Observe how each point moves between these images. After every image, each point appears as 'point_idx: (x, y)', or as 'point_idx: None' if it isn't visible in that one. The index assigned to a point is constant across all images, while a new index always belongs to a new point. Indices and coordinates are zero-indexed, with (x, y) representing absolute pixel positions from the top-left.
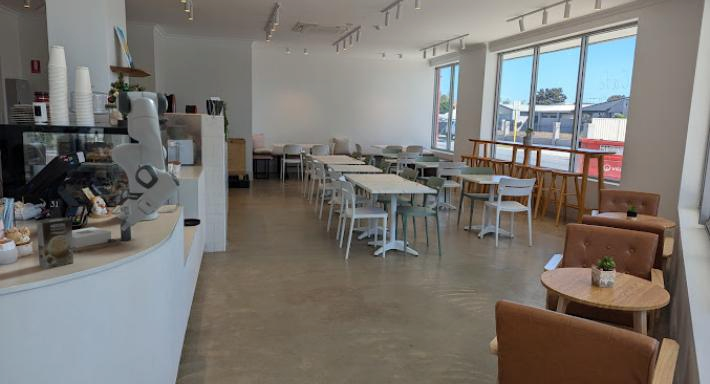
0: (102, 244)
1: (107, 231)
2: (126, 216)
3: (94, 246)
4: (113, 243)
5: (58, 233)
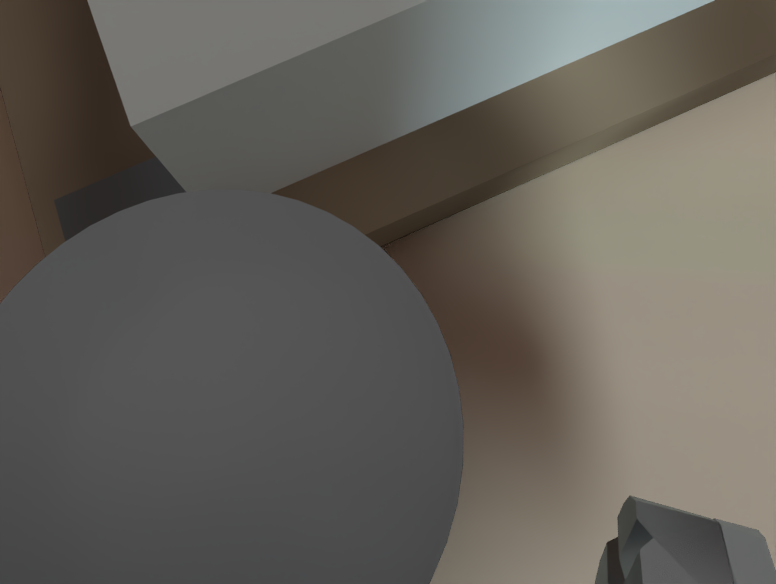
0: (58, 100)
1: (192, 69)
2: (354, 536)
3: (10, 13)
4: (42, 242)
5: None
